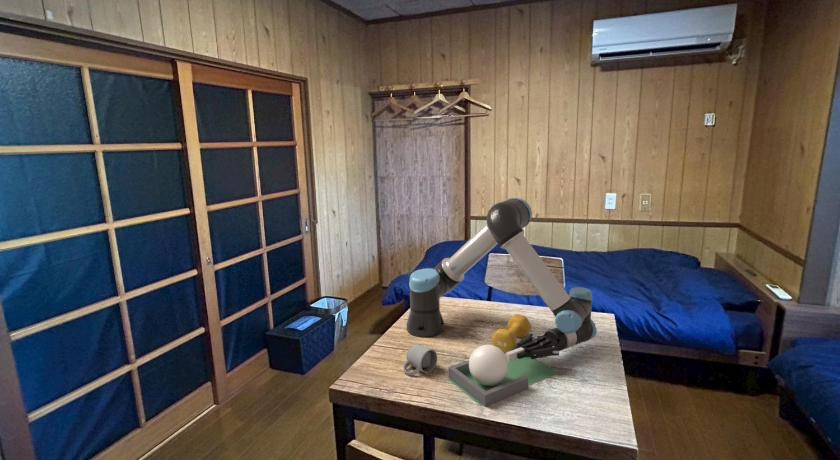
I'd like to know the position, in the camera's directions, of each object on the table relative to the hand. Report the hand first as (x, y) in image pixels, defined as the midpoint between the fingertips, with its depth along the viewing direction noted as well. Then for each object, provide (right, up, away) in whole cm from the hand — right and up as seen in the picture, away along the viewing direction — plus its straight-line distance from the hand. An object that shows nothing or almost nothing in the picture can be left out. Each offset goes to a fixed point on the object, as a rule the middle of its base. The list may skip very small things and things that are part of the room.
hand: (507, 357), depth 134 cm
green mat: (-1, -6, +1) cm, 6 cm away
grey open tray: (-6, -7, -2) cm, 10 cm away
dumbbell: (+6, -2, +23) cm, 24 cm away
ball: (-7, -1, -4) cm, 8 cm away
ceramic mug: (-28, -6, +7) cm, 29 cm away
